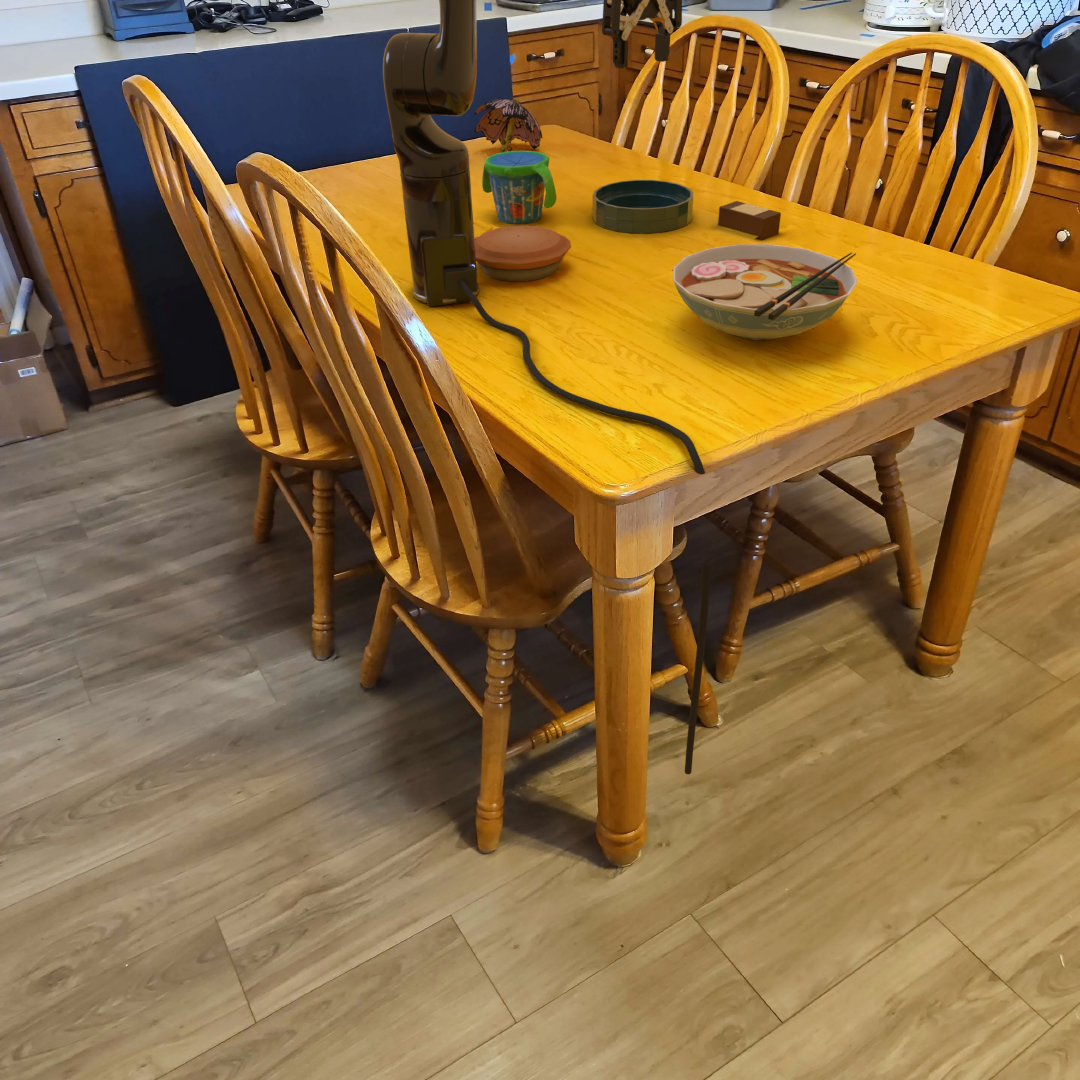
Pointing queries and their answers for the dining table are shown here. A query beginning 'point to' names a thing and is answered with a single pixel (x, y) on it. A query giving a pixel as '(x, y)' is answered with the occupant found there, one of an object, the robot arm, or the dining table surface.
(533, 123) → the decorative flower
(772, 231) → the oat bar
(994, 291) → the dining table surface
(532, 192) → the snack cup
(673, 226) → the snack bowl
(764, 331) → the ramen bowl
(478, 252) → the pie
